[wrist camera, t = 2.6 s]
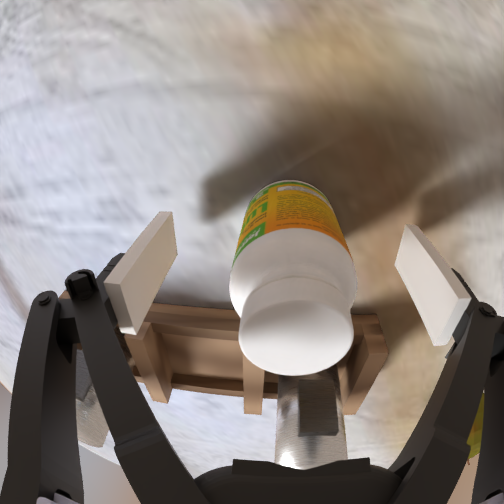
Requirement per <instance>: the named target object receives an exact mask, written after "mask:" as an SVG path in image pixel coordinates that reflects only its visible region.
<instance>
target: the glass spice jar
mask: <svg viewBox="0 0 504 504" xmlns="http://www.w3.org/2000/svg"><path fill="white" fill-rule="evenodd" d="M114 331H115V333H116V336H117V338H118V341H119V343H120V345H121V348H122V350H123V352H124V355H125V357H126V359H127V362H128V364H129V366H130V368H131V370H133V368H134V365H135V362H134V359H133V357H132V355H131V352H130V350H129V348H128V345H127V343H126V340H125V338H124V336H125V334H126V333H122V332H121V330H120V328H119V326H116V327H115V329H114ZM76 419H77V436H78V440H79V441H81V442H83V443H85V444H88V445H91V446H94V447H103V444H104V441H105V439H106V436H107V433H108V430H109V427H108V425H107V422H106V420H105V417H104V415H103V412H102V409H101V407H100V404H99V401H98V398H97V395H96V393H95V390H94V387H93V384H92V380H91V377H90V374H89V371H88V367H87V364H86V361H85V357H84V353H83V350H78V349H77V356H76Z"/></svg>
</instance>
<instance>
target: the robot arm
mask: <svg viewBox="0 0 504 504" xmlns="http://www.w3.org/2000/svg"><path fill="white" fill-rule="evenodd" d="M177 255H178V254H177V246H176V239H175V231H174V223H173V215H172V212H159V213H158V214H157V215H156V216H155V218H154V219H153V220H152V221H151V222H150V224H149V225H148V226H147V227H146V228H145V230H144V231H143V232H142V233H141V234H140V236H139V237H138V238H137V239H136V241H135V242H134V243H133V244H132V246H131V247H130V248H129V249H128V251H127V252H126V253H120V254H118V255H117V256H115V257H114V258H112V259H111V261H110V262H109V263H108V264H107V266H106V267H105V268H104V269H103V271H102V272H101V273H100V274H99V276H98V277H97V278H96V279H95V276H94V273H93V272H92V271H91V270H88V269H82V270H78V271H76V272H73V273H72V274H70V275H69V276H68V277H67V279H66V280H65V286H66V288H67V291H68V293H69V296H70V298H69V299H60V300H59V298H58V296H57V294H56V293H55V292H54V291H45V292H42V293H41V294H39V295H38V296H37V297H36V298H35V299H34V300H33V302H32V305H31V309H30V312H29V316H28V319H27V323H26V327H25V331H24V335H23V339H22V343H21V348H20V352H19V357H18V362H17V367H16V373H15V379H14V385H13V392H12V401H11V409H10V419H9V435H8V467H7V471H6V474H5V478H4V482H3V486H2V490H1V494H0V504H84V490H83V481H82V474H81V466H80V458H79V448H78V436H77V419H76V356H77V343H81V346H82V350H83V353H84V357H85V361H86V364H87V367H88V371H89V374H90V377H91V380H92V384H93V387H94V390H95V393H96V395H97V398H98V401H99V404H100V407H101V409H102V412H103V415H104V417H105V420H106V422H107V425H108V427H109V430H110V432H111V435H112V437H113V439H114V442H115V447H114V450H115V453H116V456H117V458H118V460H119V463H120V465H121V467H122V469H123V471H124V473H125V475H126V477H127V479H128V481H129V483H130V485H131V486H132V488H133V490H134V492H135V494H136V495H137V497H138V499H139V501H140V503H141V504H447V502H448V500H449V498H450V496H451V494H452V492H453V490H454V488H455V486H456V484H457V482H458V480H459V478H460V475H461V473H462V471H463V469H464V466H465V464H466V461H467V459H468V457H469V454H470V450H471V446H470V445H468V444H467V440H468V437H469V435H470V432H471V429H472V426H473V423H474V420H475V417H476V414H477V411H478V408H479V404H480V401H481V397H482V394H483V390H484V414H483V428H482V438H481V446H480V454H479V460H478V466H477V472H476V477H475V482H474V488H473V494H472V502H471V504H504V317H501V316H497V313H496V311H495V310H494V308H493V307H492V306H490V305H489V304H487V303H484V302H479V301H478V300H477V298H476V297H475V295H474V294H473V292H472V291H471V289H470V288H469V287H468V285H467V284H466V282H464V279H463V278H462V277H461V275H460V274H459V273H458V272H456V271H455V270H454V269H453V268H450V267H449V265H448V264H447V263H446V261H445V260H444V259H443V257H442V256H441V255H440V253H439V252H438V251H437V250H436V248H435V247H434V246H433V244H432V243H431V242H430V241H429V239H428V238H427V237H426V236H425V234H424V233H423V232H422V231H421V230H420V228H419V227H418V226H417V225H411V224H405V228H404V232H403V236H402V240H401V244H400V247H399V251H398V254H397V258H396V261H395V267H396V268H397V270H398V272H399V274H400V276H401V278H402V280H403V282H404V284H405V285H406V287H407V289H408V291H409V293H410V295H411V297H412V299H413V301H414V303H415V306H416V308H417V310H418V312H419V314H420V316H421V318H422V320H423V322H424V325H425V327H426V329H427V331H428V334H429V336H430V338H431V340H432V343H433V345H434V346H439V345H447V343H448V342H449V340H450V338H451V336H453V338H454V340H455V342H454V344H453V346H452V347H451V349H450V350H449V352H448V354H447V355H446V357H445V358H446V359H447V361H446V363H445V366H444V368H443V371H442V373H441V375H440V378H439V380H438V382H437V385H436V387H435V389H434V391H433V394H432V396H431V398H430V400H429V402H428V404H427V406H426V408H425V410H424V412H423V414H422V416H421V418H420V420H419V422H418V424H417V425H416V427H415V429H414V431H413V433H412V435H411V436H410V438H409V440H408V441H407V443H406V445H405V447H404V448H403V450H402V451H401V453H400V455H399V456H398V458H397V459H396V461H395V462H394V463H393V464H392V465H391V466H390V467H389V469H388V470H387V469H385V468H382V467H380V466H375V465H370V458H369V457H368V458H359V459H349V460H338V461H335V462H331V463H328V464H325V465H321V466H317V467H314V468H310V469H305V470H302V469H297V468H292V467H288V466H284V465H280V464H276V463H272V462H268V461H252V460H239V459H233V465H232V466H225V467H221V468H217V469H214V470H211V471H208V472H206V473H204V474H202V475H200V476H199V477H197V478H195V479H193V478H192V476H191V475H190V473H189V472H188V470H187V469H186V467H185V466H184V464H183V463H182V461H181V460H180V458H179V457H178V455H177V453H176V452H175V450H174V449H173V447H172V445H171V444H170V442H169V440H168V439H167V437H166V435H165V434H164V432H163V430H162V428H161V427H160V425H159V423H158V421H157V420H156V418H155V416H154V414H153V412H152V410H151V409H150V407H149V405H148V403H147V401H146V399H145V397H144V395H143V393H142V391H141V389H140V387H139V385H138V383H137V381H136V379H135V377H134V375H133V372H132V370H131V368H130V366H129V364H128V362H127V359H126V357H125V355H124V352H123V350H122V348H121V345H120V343H119V341H118V338H117V336H116V333H115V331H114V329H115V327H116V325H117V323H118V325H119V328H120V330H121V332H122V333H127V334H133V335H137V333H138V331H139V329H140V327H141V324H142V322H143V320H144V318H145V316H146V314H147V312H148V310H149V308H150V306H151V304H152V302H153V300H154V298H155V296H156V294H157V292H158V290H159V289H160V287H161V285H162V283H163V281H164V279H165V277H166V275H167V273H168V271H169V269H170V268H171V266H172V264H173V262H174V260H175V258H176V256H177Z"/></svg>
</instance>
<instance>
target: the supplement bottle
mask: <svg viewBox="0 0 504 504" xmlns="http://www.w3.org/2000/svg"><path fill="white" fill-rule="evenodd" d="M229 292H230V298H231V301H232V304H233V306H234V309H235V310H236V312H237V313H238V315H239V316H240V318H241V320H240V327H239V344H240V348H241V350H242V352H243V353H244V355H245V356H246V357H247V359H248V360H250V361H251V362H252V363H253V364H255V365H256V366H258V367H259V368H261V369H263V370H266V371H269V372H272V373H275V374H280V375H291V376H293V375H306V374H312V373H316V372H319V371H322V370H324V369H327V368H329V367H331V366H332V365H334V364H335V363H337V362H338V361H340V360H341V359H342V358H343V357H344V356H345V355H346V353H347V352H348V350H349V349H350V347H351V345H352V342H353V338H354V329H353V324H352V319H351V313H350V309H351V307H352V305H353V303H354V300H355V297H356V293H357V275H356V270H355V266H354V263H353V259H352V257H351V254H350V252H349V249H348V246H347V244H346V241H345V239H344V236H343V234H342V231H341V229H340V226H339V224H338V221H337V219H336V216H335V213H334V211H333V209H332V206H331V204H330V202H329V201H328V199H327V198H326V196H325V195H324V194H323V193H322V192H321V191H320V190H318V189H317V188H315V187H314V186H312V185H310V184H308V183H305V182H302V181H297V180H283V181H277V182H274V183H272V184H269V185H267V186H265V187H264V188H262V189H261V190H260V191H259V192H258V193H257V194H256V195H255V196H254V197H253V198H252V200H251V201H250V203H249V205H248V208H247V210H246V213H245V217H244V221H243V225H242V229H241V233H240V237H239V241H238V245H237V249H236V253H235V258H234V262H233V266H232V270H231V276H230V282H229Z"/></svg>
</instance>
